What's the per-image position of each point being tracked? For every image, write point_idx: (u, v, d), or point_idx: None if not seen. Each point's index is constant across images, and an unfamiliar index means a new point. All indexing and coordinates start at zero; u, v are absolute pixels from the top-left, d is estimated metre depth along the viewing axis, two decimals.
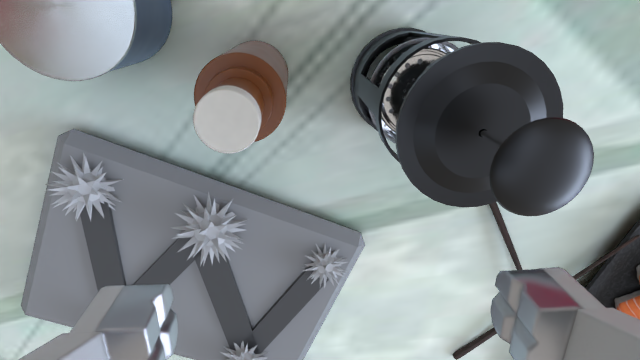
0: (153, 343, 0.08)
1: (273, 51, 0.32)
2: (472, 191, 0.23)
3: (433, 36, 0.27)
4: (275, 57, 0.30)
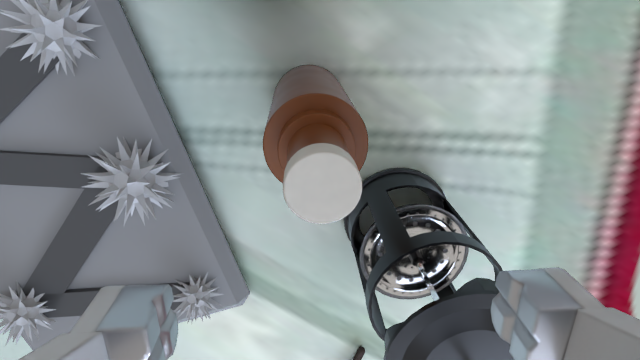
0: (153, 343, 0.08)
1: None
2: None
3: (474, 235, 0.28)
4: None
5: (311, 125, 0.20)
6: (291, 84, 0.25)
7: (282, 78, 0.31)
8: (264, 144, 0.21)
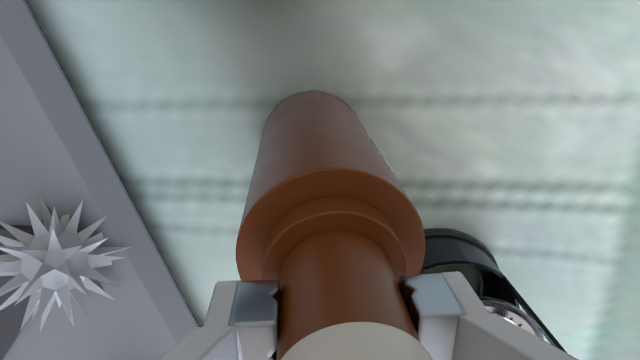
0: None
1: None
2: None
3: None
4: None
5: (325, 233, 0.10)
6: (287, 133, 0.15)
7: (274, 112, 0.21)
8: (238, 256, 0.12)
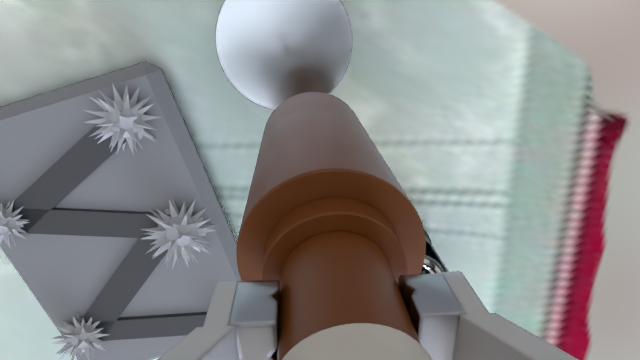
0: (277, 337, 0.09)
1: None
2: None
3: None
4: None
5: (326, 234, 0.10)
6: (288, 134, 0.15)
7: (275, 112, 0.21)
8: (239, 257, 0.12)
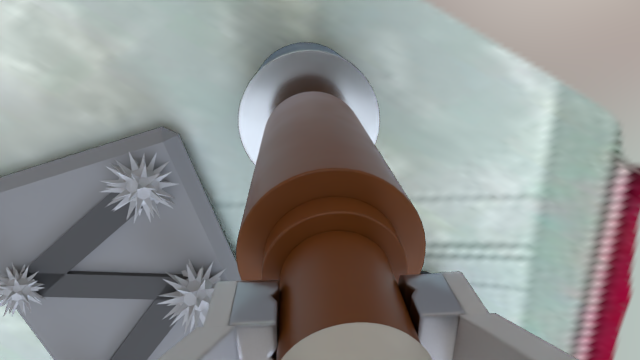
0: (277, 337, 0.09)
1: None
2: None
3: None
4: None
5: (326, 234, 0.10)
6: (288, 133, 0.15)
7: (275, 112, 0.21)
8: (238, 256, 0.12)
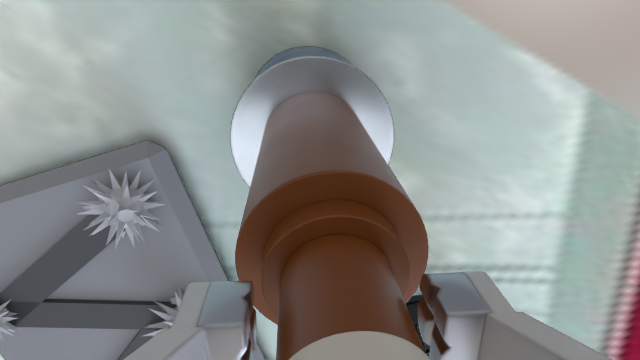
0: (247, 338, 0.09)
1: None
2: None
3: None
4: None
5: (327, 238, 0.10)
6: (288, 134, 0.15)
7: (275, 112, 0.21)
8: (237, 260, 0.12)
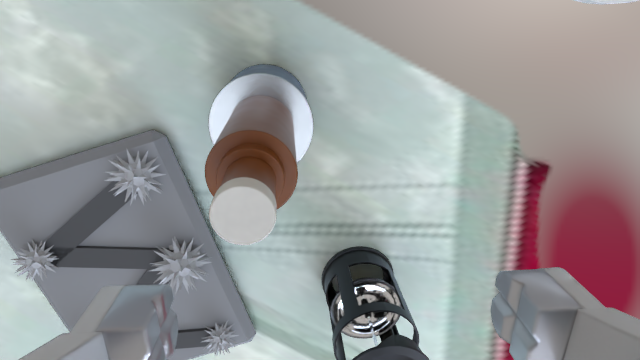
0: (153, 343, 0.08)
1: (294, 136, 0.33)
2: None
3: (400, 301, 0.44)
4: None
5: (243, 158, 0.23)
6: (235, 118, 0.28)
7: (235, 108, 0.34)
8: (206, 173, 0.25)
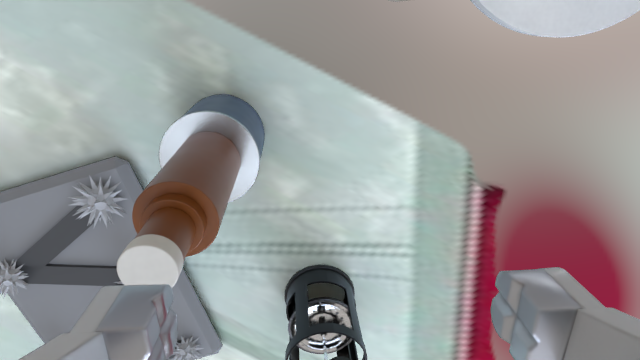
0: (153, 343, 0.08)
1: (235, 173, 0.35)
2: None
3: (351, 321, 0.46)
4: (231, 188, 0.33)
5: (163, 208, 0.25)
6: (170, 162, 0.30)
7: (182, 144, 0.36)
8: (133, 220, 0.27)
